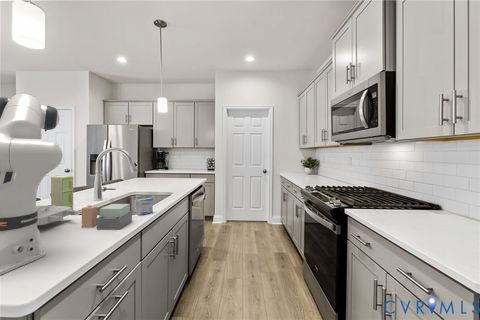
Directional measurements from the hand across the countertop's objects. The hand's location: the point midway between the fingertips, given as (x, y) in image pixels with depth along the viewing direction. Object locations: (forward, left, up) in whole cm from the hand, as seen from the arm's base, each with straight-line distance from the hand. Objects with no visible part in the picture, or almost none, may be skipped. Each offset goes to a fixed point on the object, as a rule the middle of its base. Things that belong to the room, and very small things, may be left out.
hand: (69, 215), depth 115 cm
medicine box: (+24, -26, -5) cm, 36 cm away
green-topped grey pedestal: (+2, -20, -5) cm, 21 cm away
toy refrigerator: (+22, +18, -5) cm, 29 cm away
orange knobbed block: (0, -9, -5) cm, 11 cm away
